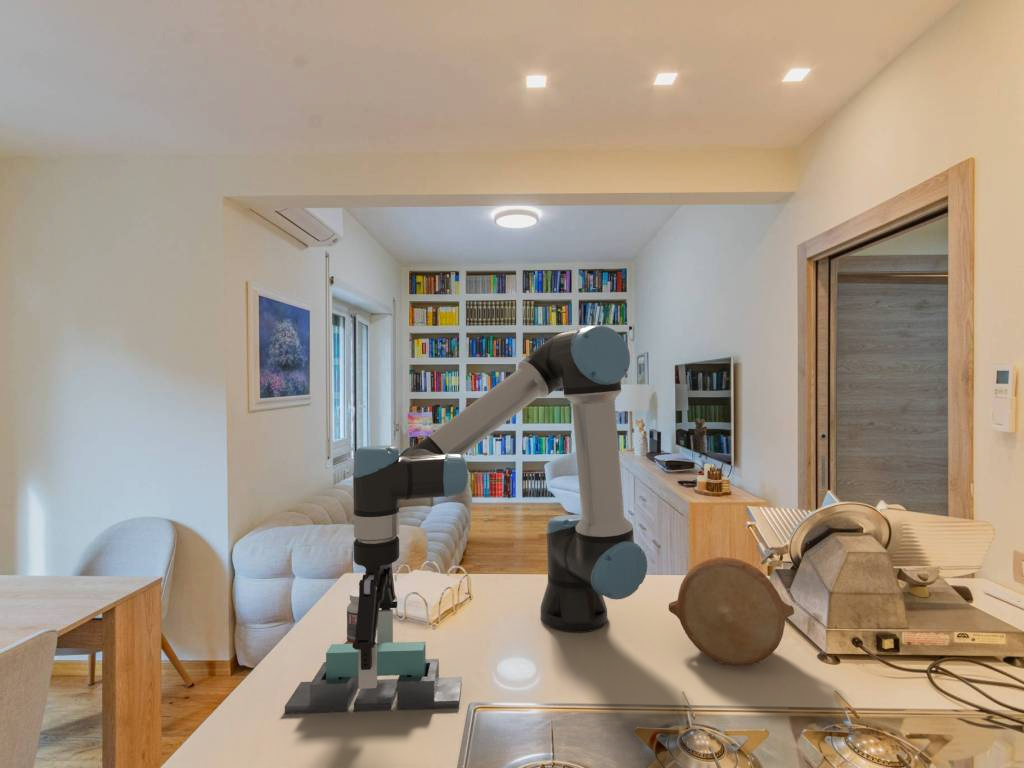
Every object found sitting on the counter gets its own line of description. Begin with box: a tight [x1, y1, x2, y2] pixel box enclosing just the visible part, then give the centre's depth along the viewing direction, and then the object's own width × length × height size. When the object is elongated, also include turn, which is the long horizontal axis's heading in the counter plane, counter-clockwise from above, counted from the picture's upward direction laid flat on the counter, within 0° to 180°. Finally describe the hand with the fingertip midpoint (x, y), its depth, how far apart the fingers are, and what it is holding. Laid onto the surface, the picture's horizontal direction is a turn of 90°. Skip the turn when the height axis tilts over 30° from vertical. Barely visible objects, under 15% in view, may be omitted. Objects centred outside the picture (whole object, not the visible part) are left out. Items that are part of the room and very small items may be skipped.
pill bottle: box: [346, 588, 359, 644], centre depth 107 cm, size 6×6×10 cm
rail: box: [284, 658, 463, 715], centre depth 87 cm, size 28×7×4 cm, turn 92°
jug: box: [668, 556, 795, 667], centre depth 105 cm, size 20×19×30 cm
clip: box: [325, 641, 427, 680], centre depth 87 cm, size 16×3×8 cm, turn 92°
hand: (377, 665), depth 87 cm, fingers open, 12 cm apart
